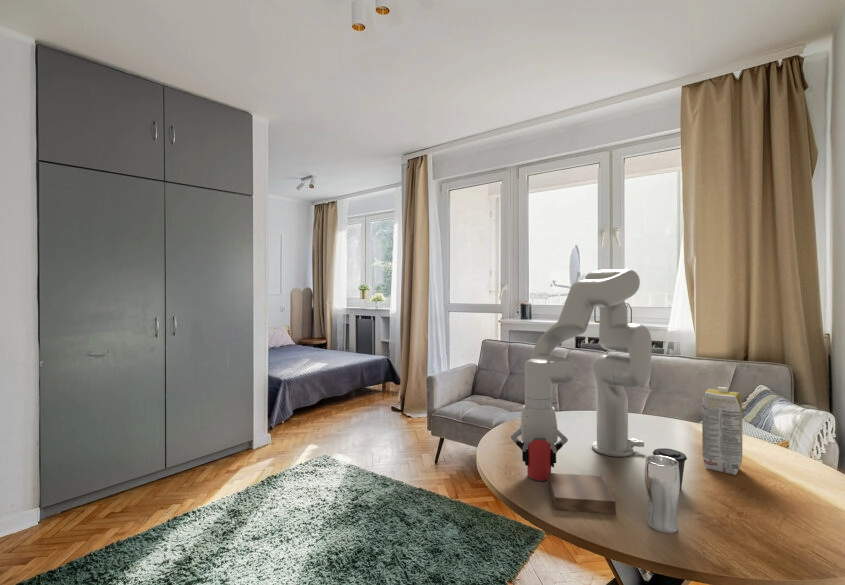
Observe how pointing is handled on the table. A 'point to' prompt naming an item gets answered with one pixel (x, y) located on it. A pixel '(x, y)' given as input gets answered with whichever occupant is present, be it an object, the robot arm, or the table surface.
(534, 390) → the robot arm
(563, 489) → the walnut base
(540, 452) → the beer can
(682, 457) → the coffee cup
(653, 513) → the beer glass
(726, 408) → the juice carton
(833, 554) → the table surface
